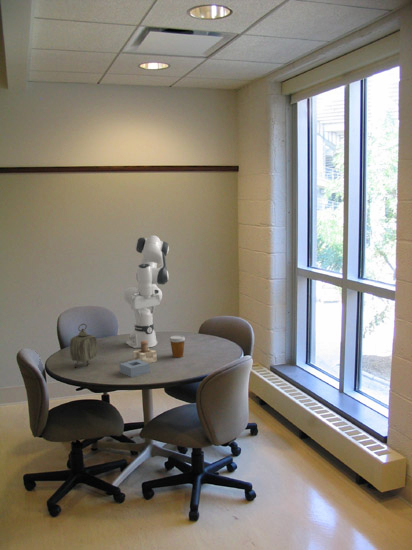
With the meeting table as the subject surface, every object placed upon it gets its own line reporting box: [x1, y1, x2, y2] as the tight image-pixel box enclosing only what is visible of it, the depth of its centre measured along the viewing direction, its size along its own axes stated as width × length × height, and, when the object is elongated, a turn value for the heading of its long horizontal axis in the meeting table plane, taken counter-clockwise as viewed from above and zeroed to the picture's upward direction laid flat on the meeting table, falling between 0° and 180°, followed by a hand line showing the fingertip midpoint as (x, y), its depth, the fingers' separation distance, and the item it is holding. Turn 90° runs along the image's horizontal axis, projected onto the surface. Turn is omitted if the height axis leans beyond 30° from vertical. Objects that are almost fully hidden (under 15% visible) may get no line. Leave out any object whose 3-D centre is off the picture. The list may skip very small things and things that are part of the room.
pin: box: [140, 341, 149, 353], centre depth 335 cm, size 4×4×12 cm
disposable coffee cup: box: [169, 334, 186, 359], centre depth 343 cm, size 10×10×12 cm
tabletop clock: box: [69, 323, 98, 368], centre depth 329 cm, size 14×9×25 cm, turn 152°
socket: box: [119, 359, 151, 378], centre depth 315 cm, size 12×12×5 cm
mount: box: [132, 348, 158, 364], centre depth 336 cm, size 10×10×6 cm
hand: (146, 314), depth 333 cm, fingers open, 8 cm apart
